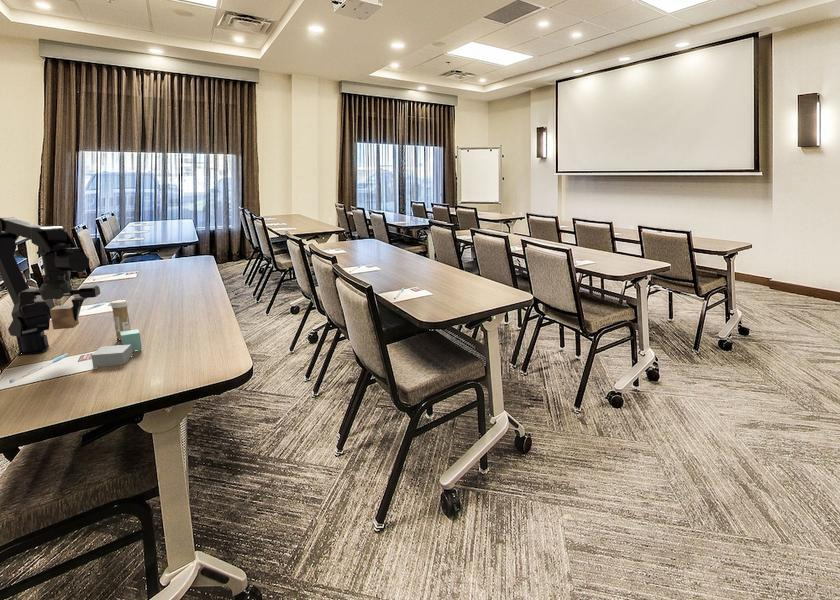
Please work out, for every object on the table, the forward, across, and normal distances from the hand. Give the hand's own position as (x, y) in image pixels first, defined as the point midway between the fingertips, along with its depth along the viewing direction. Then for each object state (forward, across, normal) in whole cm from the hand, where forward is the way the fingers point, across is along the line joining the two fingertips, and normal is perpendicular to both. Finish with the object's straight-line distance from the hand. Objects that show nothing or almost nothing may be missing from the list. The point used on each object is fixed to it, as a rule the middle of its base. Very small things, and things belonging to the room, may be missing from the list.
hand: (65, 321), depth 141 cm
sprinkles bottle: (+12, +11, +16) cm, 23 cm away
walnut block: (+2, 0, 0) cm, 2 cm away
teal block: (+12, +16, +2) cm, 20 cm away
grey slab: (+12, +13, -8) cm, 19 cm away
